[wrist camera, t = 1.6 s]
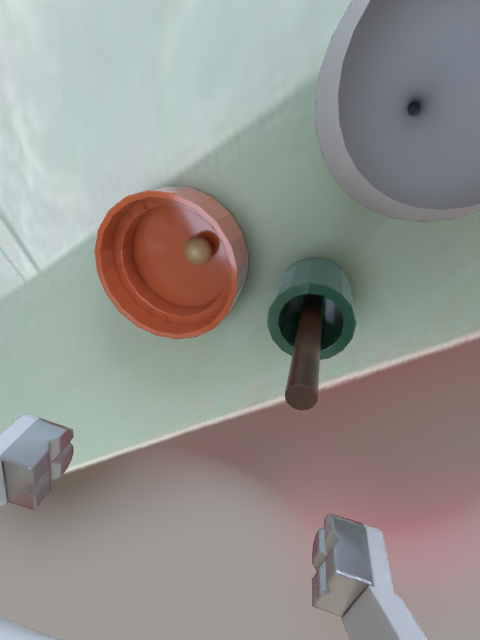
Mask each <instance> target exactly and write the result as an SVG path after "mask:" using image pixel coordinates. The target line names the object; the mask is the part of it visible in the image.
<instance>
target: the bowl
mask: <svg viewBox="0 0 480 640" xmlns="http://www.w3.org/2000/svg"><path fill="white" fill-rule="evenodd" d="M193 236H202V237H204V238H206V239H207V240H208V241H209V242H210V244H211V246H212V255H211V258H210V259H209V260H208V261H207V262H206V263H204V264H201V265H196V264H192V263H191V262H189V261H188V260H187V259H186V257H185V255H184V245H185V243H186V241H187V240H188V239H189V238H191V237H193ZM95 258H96V265H97V273H98V275H99V278H100V280H101V283H102V285H103V287H104V290H105V292H106V294H107V296H108V297H109V298H110V300H111V301H112V302H113V304H114V305H115V306H116V308H117V309H118V310H119V312H120V313H122V314H123V315H124V316H125V317H126V318H128V319H129V320H130V321H131V322H132V323H134V324H135V325H136V326H138V327H140V328H142V329H144V330H146V331H148V332H150V333H152V334H154V335H157V336H162V337H168V338H173V339H182V338H190V337H197V336H199V335H201V334H203V333H205V332H207V331H209V330H211V329H213V328H215V327H216V326H217V325H218V324H219V323H220V322H221V321H222V320H223V318H224V317H225V316H226V315H227V314H228V313H229V311H230V310H231V308H232V307H233V305H234V303H235V302H236V300H237V299H238V297H239V296H240V293H241V291H242V289H243V286H244V284H245V282H246V279H247V273H248V259H249V257H248V252H247V248H246V243H245V239H244V235H243V233H242V231H241V230H240V228H239V226H238V225H237V223H236V221H235V220H234V218H233V216H232V214H231V213H230V212H229V211H228V210H226V209H225V208H224V207H223V206H222V205H221V204H220V203H219V202H218V201H217V200H216V199H214V198H213V197H211V196H209V195H207V194H205V193H202V192H200V191H198V190H196V189H194V188H190V187H179V186H166V187H161V188H157V189H152V190H147V191H144V192H140V193H137V194H133V195H130V196H127V197H125V198H124V199H122V200H121V201H120V202H119V203H117V204H116V205H115V206H114V207H112V208H111V209H110V210H109V211H108V213H107V215H106V216H105V218H104V220H103V222H102V223H101V225H100V227H99V229H98V234H97V240H96V246H95Z"/></svg>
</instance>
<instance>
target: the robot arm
mask: <svg viewBox="0 0 480 640" xmlns="http://www.w3.org/2000/svg"><path fill="white" fill-rule="evenodd" d="M72 438H73V429H70V428H67V427H64V426H61V425H59V424H56V423H53V422H50V421H47V420H44V419H42V418H39V417H36V416H33V415H30V414H27V413H26V414H24V415H22V416H20V417H19V418H18V419H16V420H15V421H14V422H13V423H12V424H11V425H10V426H9V427H8V428H7V429H5V430H4V431H3V432H2V433H1V434H0V508H1V507H3V506H4V505H6V504H7V503H8V502H10V503H13V504H17V505H20V506H23V507H27V508H30V509H33V510H36V509H37V507H38V506H39V505H40V503H41V502H42V501H43V500H44V498H45V497H46V496H47V494H48V493H49V492H50V491H51V482H52V481H54V480H56V479H58V478H60V477H61V476H62V475H63V474H64V472H65V471H66V469H67V468H68V466H69V464H70V462H71V460H72V456H73V446H72V444H71V443H70V441H71V439H72ZM312 563H313V565H314V567H315V569H316V571H317V572H316V574H315V576H314V578H313V579H312V606H313V607H316V608H319V609H321V610H324V611H326V612H329V613H332V614H334V615H337V616H340V617H342V622H343V624H344V626H345V629H346V631H347V634H348V636H349V638H350V640H428V639H427V638H426V636H425V635H424V634H423V631H422V630H421V628H420V627H419V625H418V624H417V622H416V621H415V619H414V617H413V616H412V614H411V613H410V611H409V610H408V608H407V606H406V605H405V604H404V602H403V600H402V599H401V597H400V596H399V595H396V594H394V590H393V585H392V579H391V574H390V569H389V564H388V558H387V553H386V548H385V542H384V537H383V533H382V532H381V530H379V529H377V528H373V527H370V526H367V525H363V524H362V523H359V522H356V521H353V520H350V519H347V518H343V517H340V516H337V515H333V514H328V515H327V516H326V518H325V520H324V527H323V528H320V529H319V530H318V532H317V534H316V536H315V540H314V543H313V552H312ZM0 640H61V639H58V638H55V637H52V636H49V635H47V634H44V633H41V632H39V631H36V630H34V629H31V628H28V627H25V626H23V625H19V624H17V623H15V622H12V621H9V620H6V619H4V618H1V617H0Z"/></svg>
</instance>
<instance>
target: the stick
mask: <svg viewBox="0 0 480 640" xmlns="http://www.w3.org/2000/svg"><path fill="white" fill-rule="evenodd" d="M322 313H323V296H322V295H316V294H304V299H303V304H302V309H301V314H300V319H299V324H298V330H297V335H296V340H295V345H294V350H293V355H292V361H291V366H290V371H289V376H288V381H287V386H286V391H285V399H286V401H287V403H288V404H289V405H290V406H291V407H293V408H295V409H298V410H307V409H310V408H312V407H313V406H314V405H315V404H316V402H317V398H318V397H317V396H318V381H319V364H320V347H321V330H322Z"/></svg>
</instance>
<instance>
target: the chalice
mask: <svg viewBox="0 0 480 640" xmlns="http://www.w3.org/2000/svg"><path fill="white" fill-rule="evenodd" d="M315 108H316V131H317V135H318V139H319V143H320V147H321V151H322V155H323V157H324V159H325V161H326V163H327V165H328V167H329V169H330V171H331V173H332V175H333V177H334V179H335V180H336V181H337V182H338V183H339V184H340V185H341V187H342V188H343V189H344V190H345V191H346V192H347V193H348V194H349V196H350V197H352V198H353V199H355V200H356V201H358V202H359V203H361V204H362V205H363V206H365V207H366V208H368V209H369V210H372V211H374V212H377V213H380V214H383V215H385V216H388V217H391V218H394V219H402V220H410V221H418V222H426V221H437V220H447V219H454V218H458V217H461V216H465V215H468V214H471V213H475V212H478V211H480V0H352V1H351V3H350V5H349V7H348V9H347V10H346V12H345V14H344V16H343V18H342V19H341V21H340V23H339V25H338V27H337V28H336V30H335V32H334V34H333V36H332V37H331V40H330V43H329V46H328V49H327V52H326V55H325V57H324V60H323V63H322V66H321V69H320V74H319V80H318V87H317V93H316V100H315Z"/></svg>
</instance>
